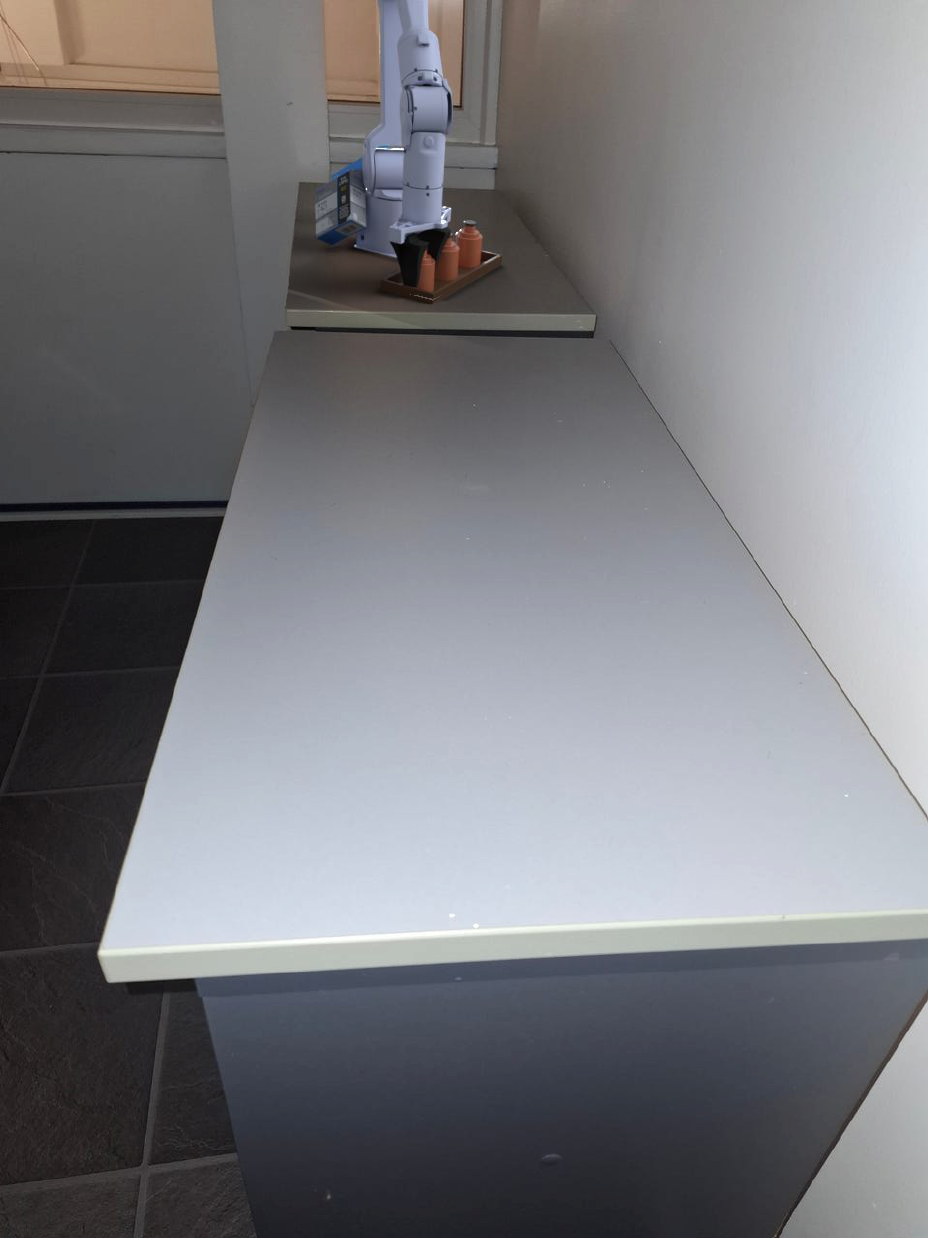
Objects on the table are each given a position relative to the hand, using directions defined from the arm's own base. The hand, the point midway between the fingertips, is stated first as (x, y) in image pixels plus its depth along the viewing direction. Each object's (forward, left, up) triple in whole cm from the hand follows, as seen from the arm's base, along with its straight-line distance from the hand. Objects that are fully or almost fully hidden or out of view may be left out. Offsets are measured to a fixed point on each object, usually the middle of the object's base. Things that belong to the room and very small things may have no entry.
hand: (418, 281), depth 130 cm
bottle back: (0, +16, -1) cm, 16 cm away
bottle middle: (0, +8, -1) cm, 8 cm away
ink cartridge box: (-19, +8, +1) cm, 21 cm away
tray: (0, +8, -2) cm, 8 cm away
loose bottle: (0, 0, -1) cm, 1 cm away
